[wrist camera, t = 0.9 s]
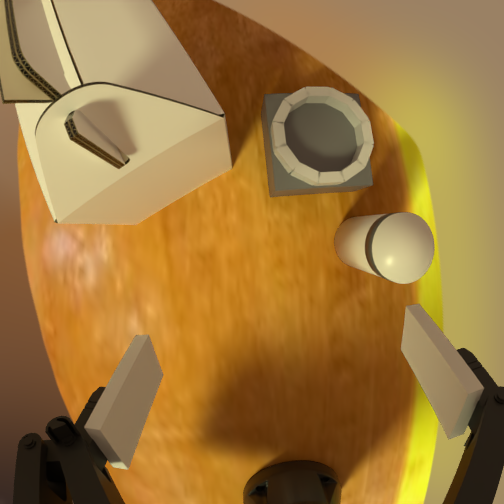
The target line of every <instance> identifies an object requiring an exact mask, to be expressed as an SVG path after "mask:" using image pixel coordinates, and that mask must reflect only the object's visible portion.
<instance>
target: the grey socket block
mask: <svg viewBox="0 0 504 504" xmlns="http://www.w3.org/2000/svg"><path fill="white" fill-rule="evenodd" d="M261 120H262V128H263V138H264V147H265V156H266V165H267V175H268V185H269V195H270V197H278V196H290V195H304V194H318V193H334V192H352V191H356V190H359V189H363V188H366V187H369V186H372V185H373V180H372V172H371V165H370V154H371V152H372V149H373V146H374V145H373V144H374V141H373V135H372V129H371V124H370V121H368V120H369V118H368V117H367V115H366V114H365V113H364V111H363V110H362V109H361V104H360V99H359V95H358V94H350V93H342V92H340V91H338V90H336V89H334V88H332V87H331V88H330V87H305V88H304V87H303V88H302V89H300V90H298V91H296V92H295V93H281V94H264V99H263V105H262V111H261Z"/></svg>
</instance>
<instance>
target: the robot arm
mask: <svg viewBox="0 0 504 504" xmlns="http://www.w3.org/2000/svg"><path fill="white" fill-rule="evenodd" d="M401 351H402V352H403V354H404V356H405V358H406V360H407V361H408V363H409V365H410V367H411V368H412V370H413V372H414V374H415V376H416V377H417V379H418V381H419V383H420V385H421V387H422V389H423V390H424V392H425V394H426V396H427V398H428V400H429V402H430V404H431V406H432V407H433V409H434V411H435V413H436V415H437V417H438V419H439V421H440V423H441V425H442V427H443V429H444V431H445V433H446V435H447V437H448V439H451V438H454V437H457V436H459V435H462V434H463V433H464V432H465V430H466V428H467V426H469V427H470V429H471V433H470V435H469V437H468V439H467V441H466V443H465V445H464V446H466V447H465V450H464V453H463V455H462V459H461V461H460V464H459V466H458V469H457V472H456V474H455V476H454V479H453V482H452V484H451V486H450V488H449V491H448V493H447V495H446V498H445V500H444V502H443V504H492V503H493V500H494V497H495V494H496V490H497V487H498V484H499V481H500V477H501V474H502V470H503V466H504V387H498V386H497V384H496V383H495V382H494V380H493V379H492V378H491V376H490V375H489V374H488V372H487V371H486V370H485V369H484V367H482V365H481V363H480V362H478V360H477V358H476V357H475V356H474V355H473V354H472V353H471V352H470V351H468V350H467V349H465V348H461V349H458V350H456V349H455V348H454V347H453V345H452V344H451V343H450V341H449V340H448V339H447V338H446V336H445V335H444V334H443V332H442V331H441V330H440V329H439V327H438V326H437V325H436V324H435V323H434V321H433V320H432V319H431V318H430V316H429V315H428V314H427V313H426V312H425V310H424V309H423V308H422V307H421V306H420V304H415V305H410V306H406V311H405V320H404V329H403V337H402V344H401ZM162 377H163V373H162V370H161V367H160V365H159V362H158V359H157V356H156V354H155V351H154V348H153V345H152V342H151V339H150V337H149V335H136V336H135V338H134V339H133V341H132V343H131V344H130V346H129V348H128V349H127V351H126V353H125V355H124V356H123V358H122V360H121V361H120V363H119V365H118V367H117V368H116V370H115V372H114V374H113V375H112V377H111V379H110V381H109V383H108V384H107V386H106V387H99V388H98V389H97V390H96V391H95V392H93V393H92V395H91V397H90V398H89V400H88V403H87V404H86V405H85V409H83V411H82V412H81V414H80V416H79V418H78V420H77V421H76V423H75V425H74V424H73V422H72V421H71V419H70V418H68V417H66V416H59V417H56V418H54V419H52V420H51V421H50V422H49V423H48V424H47V426H46V433H47V434H48V436H49V437H50V439H51V440H42V439H41V437H40V436H39V435H38V434H36V433H29V434H26V435H25V436H24V437H22V439H21V440H20V442H19V445H18V452H17V459H16V469H15V480H14V495H13V504H73V503H72V500H73V502H74V504H125V503H124V501H123V499H122V497H121V495H120V493H119V491H118V489H117V488H116V486H115V484H114V482H113V480H112V478H111V476H110V474H109V471H108V470H107V468H106V467H105V464H106V462H107V460H108V461H109V463H110V464H111V465H112V466H113V467H115V468H121V469H127V470H128V469H129V466H130V463H131V461H132V458H133V455H134V452H135V449H136V447H137V444H138V441H139V438H140V436H141V433H142V430H143V427H144V425H145V422H146V419H147V417H148V414H149V411H150V409H151V406H152V403H153V401H154V398H155V395H156V393H157V390H158V388H159V385H160V382H161V380H162ZM340 501H341V485H340V482H339V480H338V477H337V475H336V473H335V472H334V471H333V470H332V469H331V468H330V467H328V466H326V465H324V464H321V463H317V462H312V461H291V462H285V463H280V464H277V465H274V466H271V467H268V468H266V469H264V470H262V471H260V472H259V473H257V474H256V475H254V476H253V477H252V478H251V479H250V480H249V481H248V482H247V484H246V486H245V488H244V492H243V503H244V504H340Z"/></svg>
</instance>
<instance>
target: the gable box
mask: <svg viewBox="0 0 504 504" xmlns="http://www.w3.org/2000/svg"><path fill="white" fill-rule="evenodd" d="M0 92H1V97H2V103H3V104H7V103H15V106H16V111H17V114H18V118H19V122H20V125H21V129H22V132H23V136H24V139H25V143H26V146H27V149H28V152H29V155H30V158H31V161H32V164H33V167H34V170H35V173H36V176H37V178H38V181H39V184H40V187H41V189H42V192H43V194H44V197H45V200H46V202H47V205H48V207H49V210H50V212H51V214H52V217H53V219H54V221H55V222H56V223H69V224H119V225H137V224H138V223H140V222H141V221H143V220H145V219H146V218H148V217H150V216H151V215H153V214H154V213H156V212H158V211H159V210H161V209H163V208H164V207H166V206H168V205H169V204H171V203H173V202H174V201H176V200H178V199H179V198H181V197H183V196H184V195H186V194H188V193H189V192H191V191H193V190H195V189H196V188H198V187H200V186H202V185H203V184H205V183H207V182H209V181H210V180H212V179H214V178H216V177H218V176H219V175H221V174H223V173H225V172H227V171H228V170H230V169H232V159H231V152H230V145H229V139H228V132H227V125H226V118H225V113H224V111H223V110H222V108H221V106H220V105H219V103H218V102H217V100H216V98H215V97H214V95H213V93H212V92H211V90H210V89H209V87H208V85H207V84H206V82H205V81H204V79H203V77H202V76H201V74H200V73H199V71H198V69H197V68H196V66H195V65H194V63H193V62H192V60H191V58H190V57H189V55H188V54H187V52H186V51H185V49H184V48H183V46H182V45H181V43H180V41H179V40H178V38H177V37H176V35H175V34H174V32H173V31H172V29H171V28H170V26H169V25H168V23H167V22H166V20H165V19H164V17H163V16H162V14H161V13H160V11H159V10H158V8H157V7H156V6H155V4H154V3H153V1H152V0H0Z"/></svg>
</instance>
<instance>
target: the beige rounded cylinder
mask: <svg viewBox="0 0 504 504" xmlns="http://www.w3.org/2000/svg"><path fill="white" fill-rule="evenodd" d="M334 246H335V251H336V253H337V255H338V257H339V258H340V260H341V261H342V262H344V263H345V264H347V265H349V266H351V267H354V268H357V269H360V270H362V271H365V272H368V273H371V274H374V275H376V276H379V277H382V278H384V279H387V280H390V281H392V282H396V283H400V284H408V283H412V282H414V281H416V280H418V279H419V278H421V277H422V276H423V275H424V274H425V273H426V271H427V270H428V268H429V267H430V265H431V262H432V259H433V255H434V239H433V235H432V232H431V230H430V228H429V226H428V225H427V223H426V222H425V221H424V220H423V219H422V218H421V217H419V216H418V215H416V214H413V213H408V212H399V213H390V214H380V215H369V216H358V217H352V218H349V219H347V220H345V221H344V222H343V223H342V224H341V225H340V226H339V228H338V229H337V231H336V234H335V239H334Z"/></svg>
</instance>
